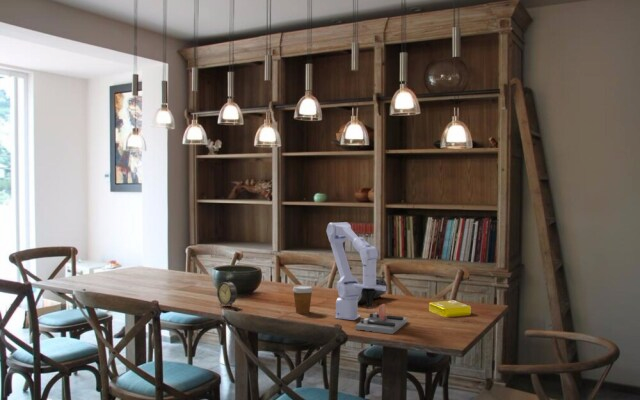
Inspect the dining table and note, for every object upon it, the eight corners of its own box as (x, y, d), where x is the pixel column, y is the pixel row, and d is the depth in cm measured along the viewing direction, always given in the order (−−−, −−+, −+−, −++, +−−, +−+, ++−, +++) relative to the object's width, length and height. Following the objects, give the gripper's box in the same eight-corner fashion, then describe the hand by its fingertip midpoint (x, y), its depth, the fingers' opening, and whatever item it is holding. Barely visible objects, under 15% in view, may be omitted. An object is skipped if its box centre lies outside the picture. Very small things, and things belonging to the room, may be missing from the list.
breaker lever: (378, 321, 244) (379, 306, 244) (382, 318, 249) (382, 303, 249) (381, 321, 244) (381, 306, 244) (385, 319, 248) (385, 304, 248)
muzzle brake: (387, 298, 307) (387, 278, 307) (361, 307, 284) (362, 286, 283) (371, 296, 312) (371, 276, 312) (345, 305, 289) (345, 284, 288)
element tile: (427, 311, 277) (427, 301, 277) (454, 308, 282) (454, 299, 282) (444, 318, 263) (444, 307, 263) (472, 315, 268) (472, 305, 268)
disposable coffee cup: (289, 311, 274) (289, 285, 274) (308, 309, 278) (308, 284, 278) (296, 315, 266) (296, 289, 265) (315, 313, 269) (316, 287, 269)
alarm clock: (216, 305, 286) (216, 272, 285) (225, 303, 290) (225, 271, 289) (230, 308, 278) (230, 275, 278) (239, 307, 282) (239, 274, 282)
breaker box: (355, 329, 240) (355, 320, 240) (372, 318, 260) (372, 309, 260) (392, 334, 233) (392, 324, 233) (407, 322, 253) (407, 313, 253)
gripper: (350, 275, 247) (350, 306, 248) (382, 277, 242) (382, 309, 242) (356, 272, 254) (356, 303, 254) (387, 275, 248) (387, 306, 248)
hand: (369, 306), depth 249 cm, fingers closed
